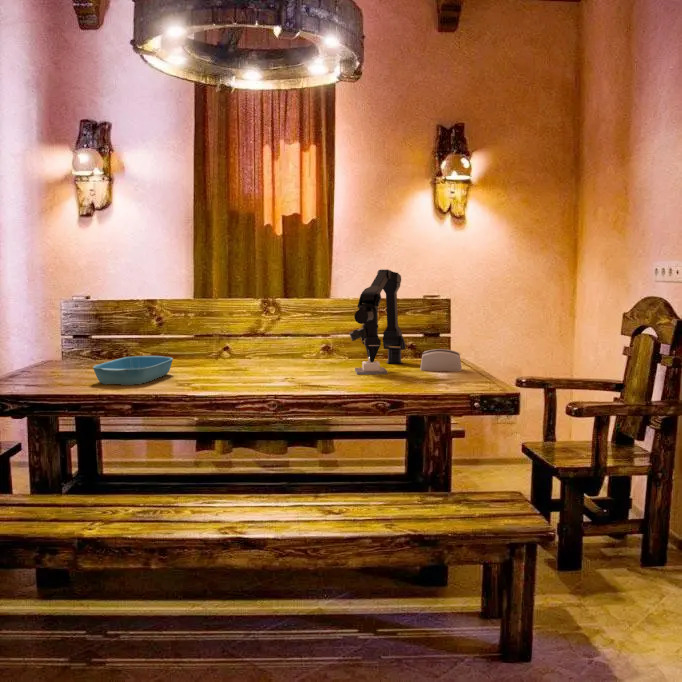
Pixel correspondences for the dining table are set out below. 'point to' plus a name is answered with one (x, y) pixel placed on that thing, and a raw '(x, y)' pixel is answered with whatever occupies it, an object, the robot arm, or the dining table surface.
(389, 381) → the dining table surface
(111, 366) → the casserole dish
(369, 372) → the grey base with post
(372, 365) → the collar
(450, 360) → the napkin holder
